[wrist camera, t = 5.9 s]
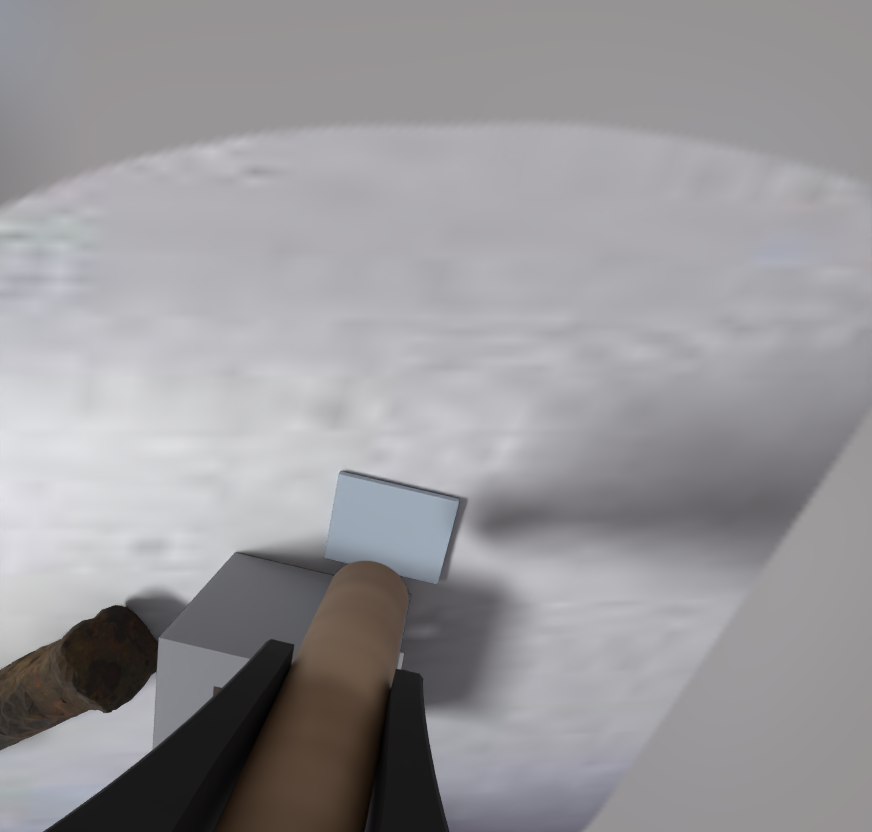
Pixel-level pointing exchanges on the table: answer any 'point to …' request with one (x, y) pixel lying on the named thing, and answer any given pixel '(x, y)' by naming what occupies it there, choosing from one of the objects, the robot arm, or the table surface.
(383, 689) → the wooden rod
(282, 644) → the robot arm
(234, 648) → the gray hollow box
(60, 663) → the brown rough rod
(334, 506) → the pad
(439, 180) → the table surface
